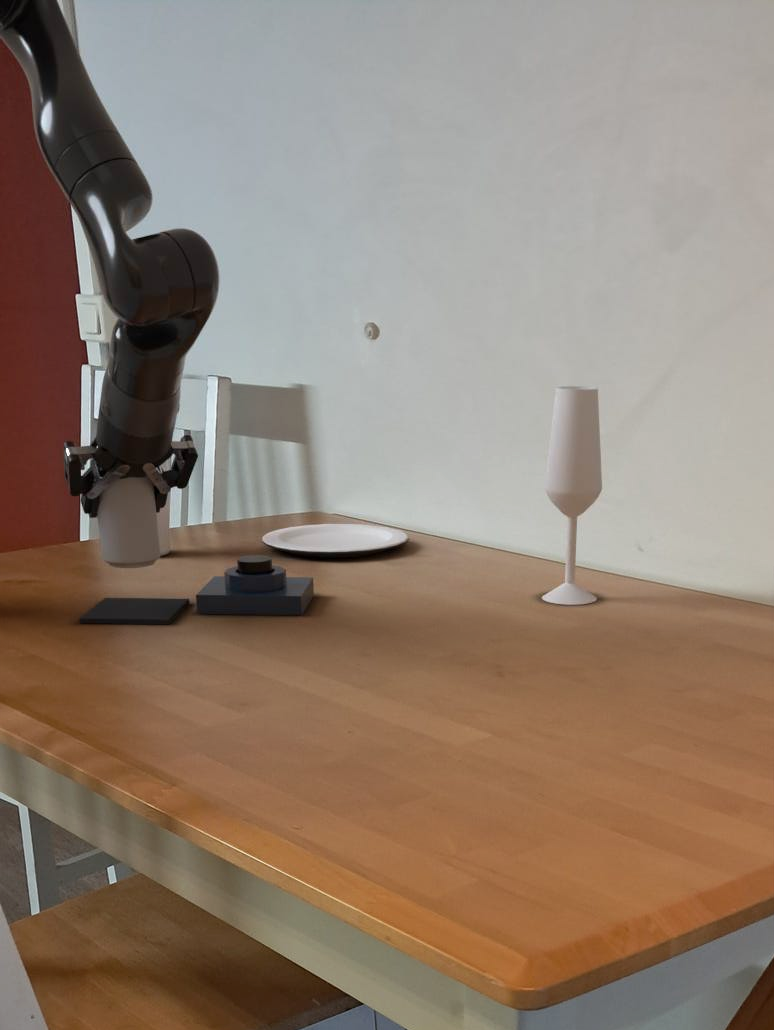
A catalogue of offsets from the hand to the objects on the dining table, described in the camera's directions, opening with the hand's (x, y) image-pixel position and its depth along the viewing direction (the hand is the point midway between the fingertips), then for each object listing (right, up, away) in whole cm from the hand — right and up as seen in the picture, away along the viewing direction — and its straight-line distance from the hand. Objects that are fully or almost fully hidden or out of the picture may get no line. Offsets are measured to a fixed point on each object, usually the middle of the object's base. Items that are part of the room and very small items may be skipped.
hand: (122, 508), depth 142 cm
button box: (+14, -9, +8) cm, 18 cm away
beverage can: (+1, -6, +1) cm, 6 cm away
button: (+14, -6, +6) cm, 16 cm away
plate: (+19, +5, +40) cm, 45 cm away
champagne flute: (+51, -8, +12) cm, 53 cm away
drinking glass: (-6, +3, +35) cm, 35 cm away
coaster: (+1, -11, +4) cm, 12 cm away
